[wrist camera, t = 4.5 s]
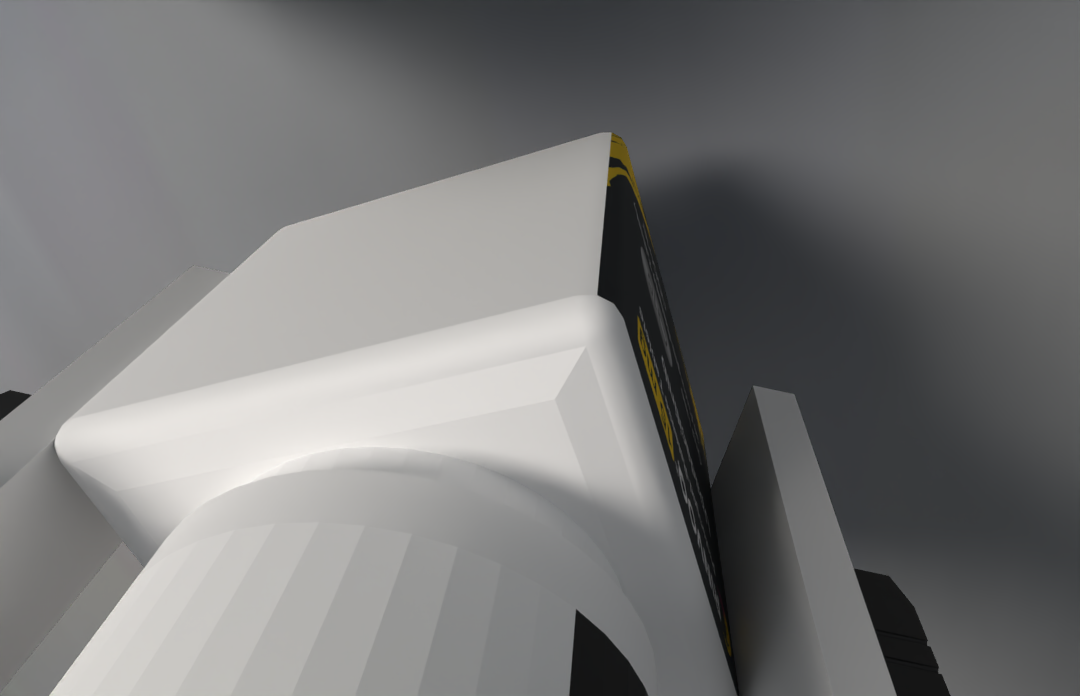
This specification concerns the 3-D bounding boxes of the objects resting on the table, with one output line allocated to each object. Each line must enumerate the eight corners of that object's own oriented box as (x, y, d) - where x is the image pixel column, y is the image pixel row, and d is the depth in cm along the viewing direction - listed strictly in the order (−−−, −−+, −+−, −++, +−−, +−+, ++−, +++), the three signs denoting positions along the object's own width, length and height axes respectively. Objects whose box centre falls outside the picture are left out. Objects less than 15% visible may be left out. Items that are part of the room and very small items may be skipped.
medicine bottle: (704, 436, 16) (830, 1325, 6) (413, 490, 18) (125, 1253, 8) (621, 121, 13) (587, 884, 3) (275, 224, 15) (-531, 931, 5)
